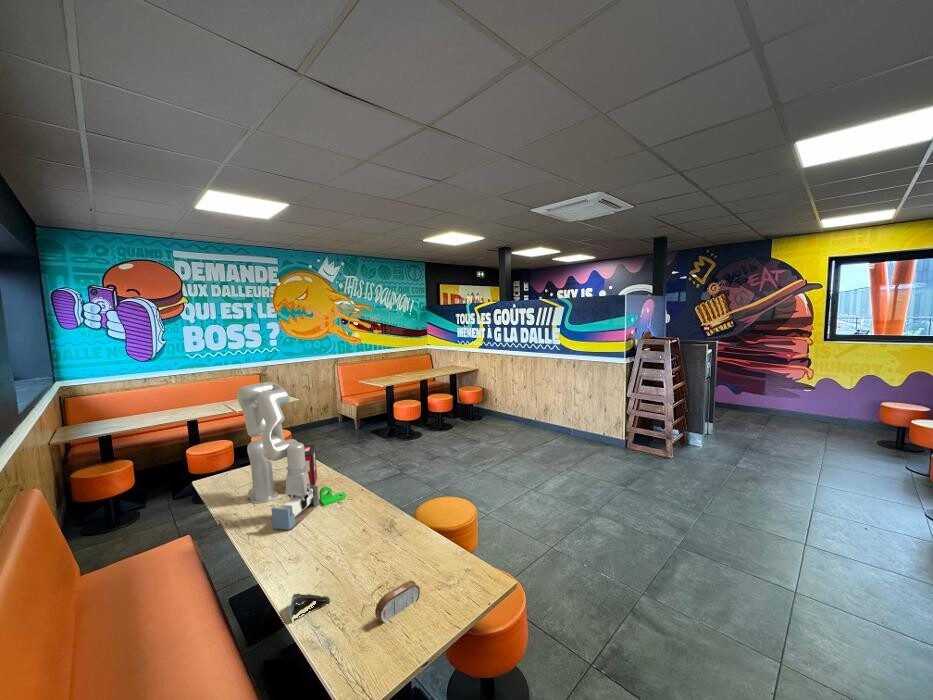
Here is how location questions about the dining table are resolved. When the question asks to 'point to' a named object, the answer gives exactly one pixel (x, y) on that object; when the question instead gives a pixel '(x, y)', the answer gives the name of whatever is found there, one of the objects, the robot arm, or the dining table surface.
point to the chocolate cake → (302, 598)
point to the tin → (397, 600)
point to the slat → (297, 504)
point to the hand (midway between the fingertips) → (299, 506)
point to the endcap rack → (309, 508)
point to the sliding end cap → (282, 518)
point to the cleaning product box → (311, 463)
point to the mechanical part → (330, 496)
